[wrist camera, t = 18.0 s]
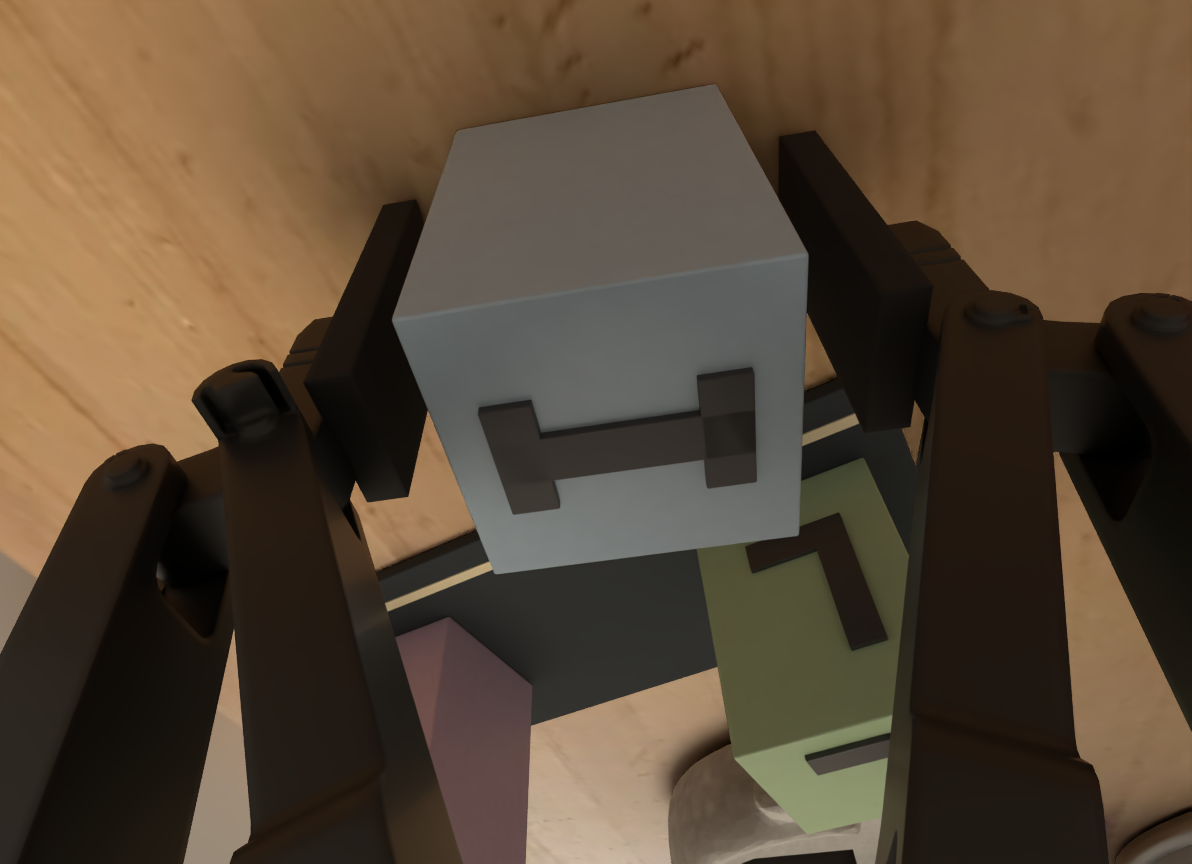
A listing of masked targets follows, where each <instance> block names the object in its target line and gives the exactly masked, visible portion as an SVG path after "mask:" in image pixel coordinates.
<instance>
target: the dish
mask: <svg viewBox="0 0 1192 864" xmlns="http://www.w3.org/2000/svg"><path fill="white" fill-rule="evenodd" d="M881 819H882V817H881V818H877V819H872V820H868V821H864V822H859V823H855V824H851V825H847V826H842V827H838V828H834V829H829V830H825V831H821V832H816V833H812V834H807V833H806V832H805V831H804V830H803V829H802V828H801V827H800V826H799V825H798V824H797V823H796V822H795V821H794V820H793V819H792V818H791V817H790V816H789V815H788V814H787V813H786V812H785V811H784V810H783V809H782V808H781V807H780V806H779V805H778V803H777V802H776V801H775V800H774V799H773V798H772V797H771V796H770V795H769V794H768V793H767V792H766V791H765V790H764V789H763V788H762V787H761V786H760V785H759V784H758V783H757V782H756V781H755V780H754V779H753V778H752V777H751V776H750V775H749V774H748V772H747V771H746V770H745V769H744V768H743V767H742V766H741V765H740V764H739V763H738V762H737V761H736V760H735V759H734V757H733V751H732V745H731V744H730V745H727V746H725V747H723V748H721V749H719V750H717V751H715V752H713V753H711V754H709V755H708V756H706V757H704V758H702V759H701V760H699V761H698V762H696V763H695V764H694V765H693V766H691V767H690V768H689V769H688V770H687V771H686V772H685V773H684V775H683V776H682V777H681V778H680V779H679V781H678V783H677V784H676V786H675V788H674V790H673V793H672V796H671V800H670V807H669V818H668V829H669V847H670V855H671V863H672V864H742V863H744V862H747V861H749V860H752V859H755V858H766V857H776V856H787V855H798V854H808V853H819V852H830V851H840V850H851V849H853V851H854V855H855V859H856V862H857V864H875V860H876V853H877V847H878V840H879V834H880V827H881Z"/></svg>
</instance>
